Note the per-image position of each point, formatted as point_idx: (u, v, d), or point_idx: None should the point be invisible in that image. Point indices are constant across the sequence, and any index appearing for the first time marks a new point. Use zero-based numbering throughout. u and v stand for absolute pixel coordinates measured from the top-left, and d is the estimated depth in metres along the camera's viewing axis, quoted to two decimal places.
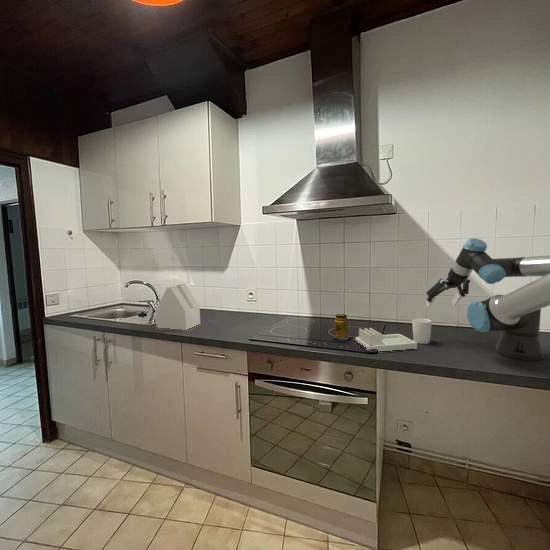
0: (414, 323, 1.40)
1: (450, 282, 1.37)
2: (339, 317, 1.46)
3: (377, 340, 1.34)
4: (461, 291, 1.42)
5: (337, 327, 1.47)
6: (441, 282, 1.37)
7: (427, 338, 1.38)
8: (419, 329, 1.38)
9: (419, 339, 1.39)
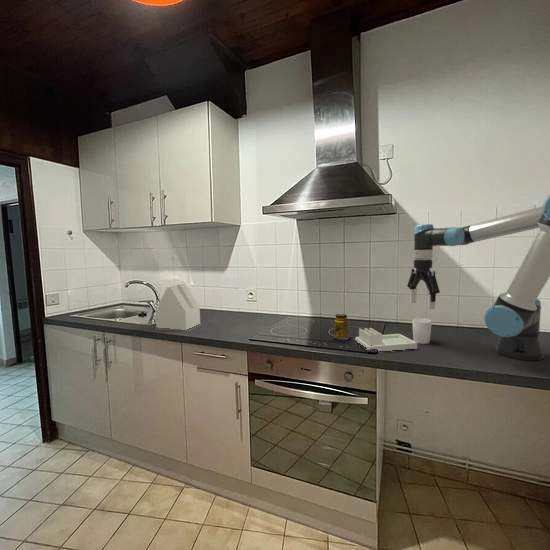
0: (414, 323, 1.40)
1: None
2: (339, 317, 1.46)
3: (377, 340, 1.34)
4: None
5: (337, 327, 1.47)
6: (433, 273, 1.32)
7: (427, 338, 1.38)
8: (419, 329, 1.38)
9: (419, 339, 1.39)
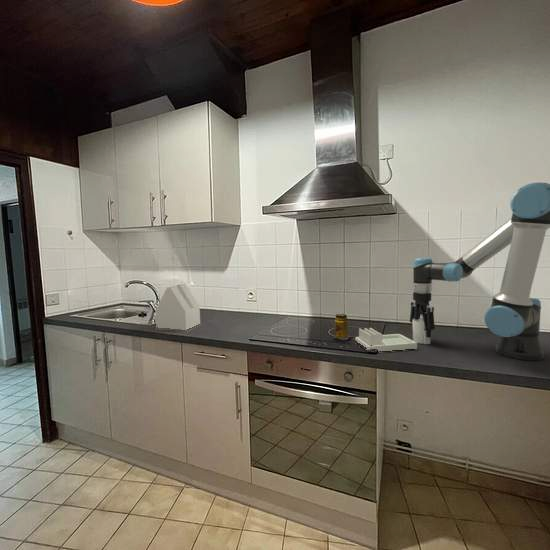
0: (414, 323, 1.40)
1: None
2: (339, 317, 1.46)
3: (377, 340, 1.34)
4: None
5: (337, 327, 1.47)
6: (432, 310, 1.34)
7: None
8: (419, 329, 1.38)
9: (419, 339, 1.39)
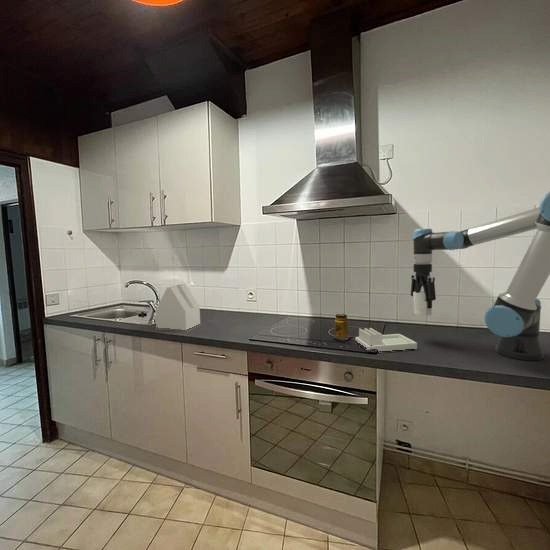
0: (415, 295, 1.39)
1: None
2: (339, 317, 1.46)
3: (377, 340, 1.34)
4: None
5: (337, 327, 1.47)
6: (433, 280, 1.32)
7: None
8: (420, 300, 1.37)
9: (420, 311, 1.38)
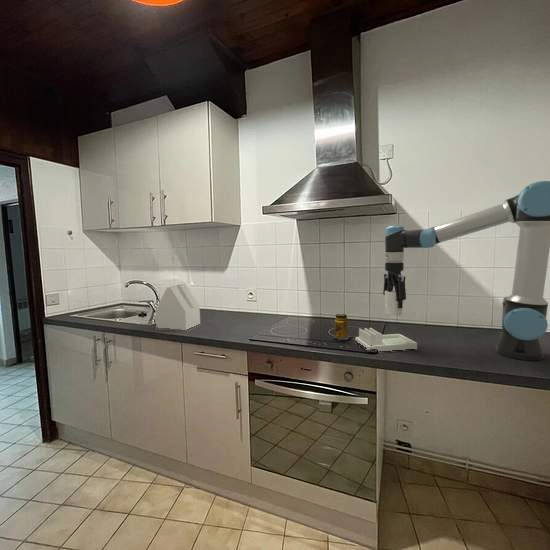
0: (386, 294, 1.35)
1: None
2: (339, 317, 1.46)
3: (377, 340, 1.34)
4: None
5: (337, 327, 1.47)
6: (403, 279, 1.28)
7: None
8: (391, 300, 1.33)
9: (391, 311, 1.34)
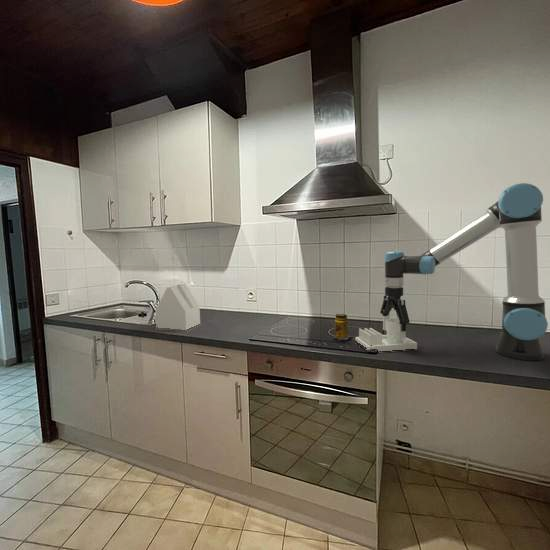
0: (387, 324, 1.35)
1: None
2: (339, 317, 1.46)
3: (377, 340, 1.34)
4: None
5: (337, 327, 1.47)
6: (403, 302, 1.29)
7: (400, 339, 1.33)
8: (392, 330, 1.33)
9: (392, 340, 1.34)
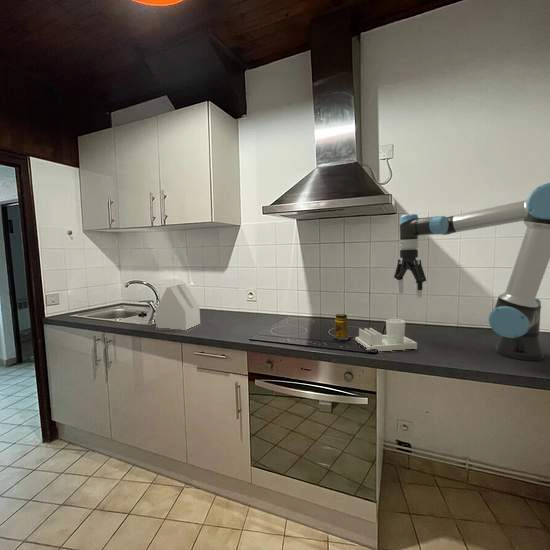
0: (387, 324, 1.35)
1: None
2: (339, 317, 1.46)
3: (377, 340, 1.34)
4: None
5: (337, 327, 1.47)
6: (419, 262, 1.34)
7: (400, 339, 1.33)
8: (392, 330, 1.33)
9: (392, 340, 1.34)
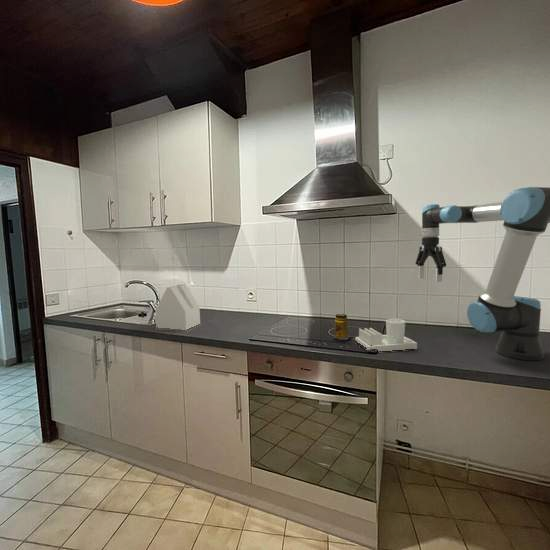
0: (387, 324, 1.35)
1: None
2: (339, 317, 1.46)
3: (377, 340, 1.34)
4: None
5: (337, 327, 1.47)
6: (440, 248, 1.45)
7: (400, 339, 1.33)
8: (392, 330, 1.33)
9: (392, 340, 1.34)
